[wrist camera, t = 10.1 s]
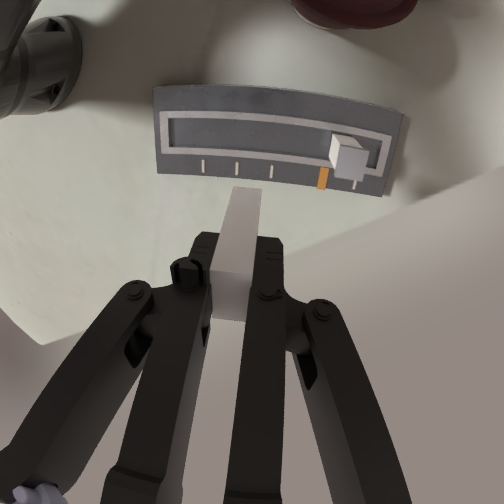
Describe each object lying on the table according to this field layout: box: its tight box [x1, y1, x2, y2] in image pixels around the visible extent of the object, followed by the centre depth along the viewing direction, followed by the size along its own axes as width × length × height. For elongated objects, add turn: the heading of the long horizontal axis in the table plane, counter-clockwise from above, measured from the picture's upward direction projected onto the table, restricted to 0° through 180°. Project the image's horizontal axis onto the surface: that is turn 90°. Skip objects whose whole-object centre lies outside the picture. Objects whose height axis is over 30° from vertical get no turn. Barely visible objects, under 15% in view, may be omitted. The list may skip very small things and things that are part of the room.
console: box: [153, 84, 403, 197], centre depth 30 cm, size 28×11×3 cm, turn 86°
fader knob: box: [329, 134, 370, 182], centre depth 27 cm, size 3×3×6 cm
